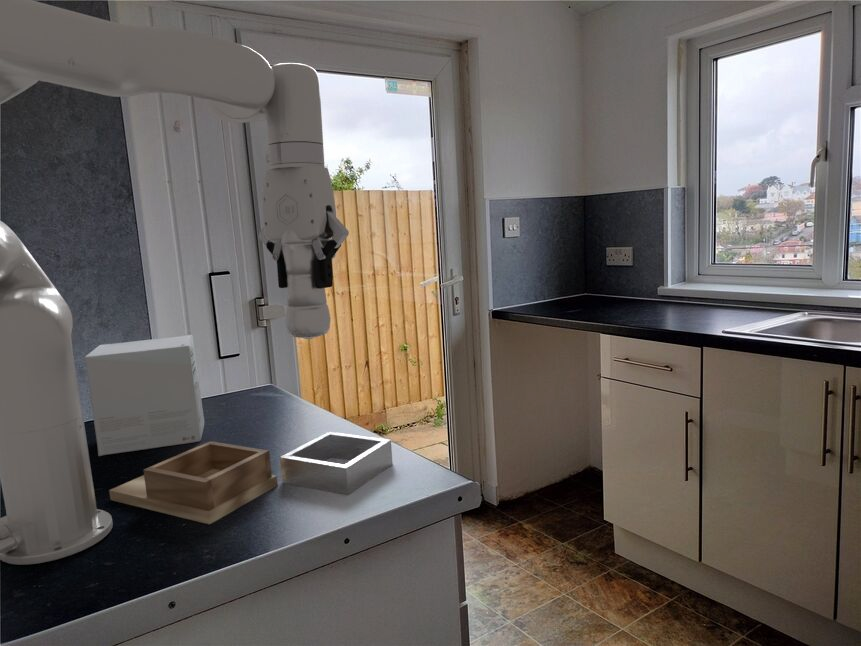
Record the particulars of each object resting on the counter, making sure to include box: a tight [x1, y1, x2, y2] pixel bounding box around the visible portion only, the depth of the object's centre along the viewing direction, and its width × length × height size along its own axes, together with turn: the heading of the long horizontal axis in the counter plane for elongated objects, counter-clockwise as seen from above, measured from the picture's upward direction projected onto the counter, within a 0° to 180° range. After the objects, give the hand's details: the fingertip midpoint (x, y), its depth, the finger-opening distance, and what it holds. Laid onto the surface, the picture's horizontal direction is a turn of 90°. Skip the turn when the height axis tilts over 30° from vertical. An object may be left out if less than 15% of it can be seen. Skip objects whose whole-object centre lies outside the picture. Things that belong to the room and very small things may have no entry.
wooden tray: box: [108, 440, 278, 525], centre depth 91 cm, size 13×20×6 cm, turn 62°
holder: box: [279, 431, 394, 496], centre depth 95 cm, size 12×12×4 cm
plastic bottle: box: [281, 230, 331, 340], centre depth 90 cm, size 6×7×20 cm
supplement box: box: [84, 334, 205, 457], centre depth 116 cm, size 17×13×18 cm
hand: (305, 286), depth 90 cm, fingers closed on plastic bottle, 6 cm apart
